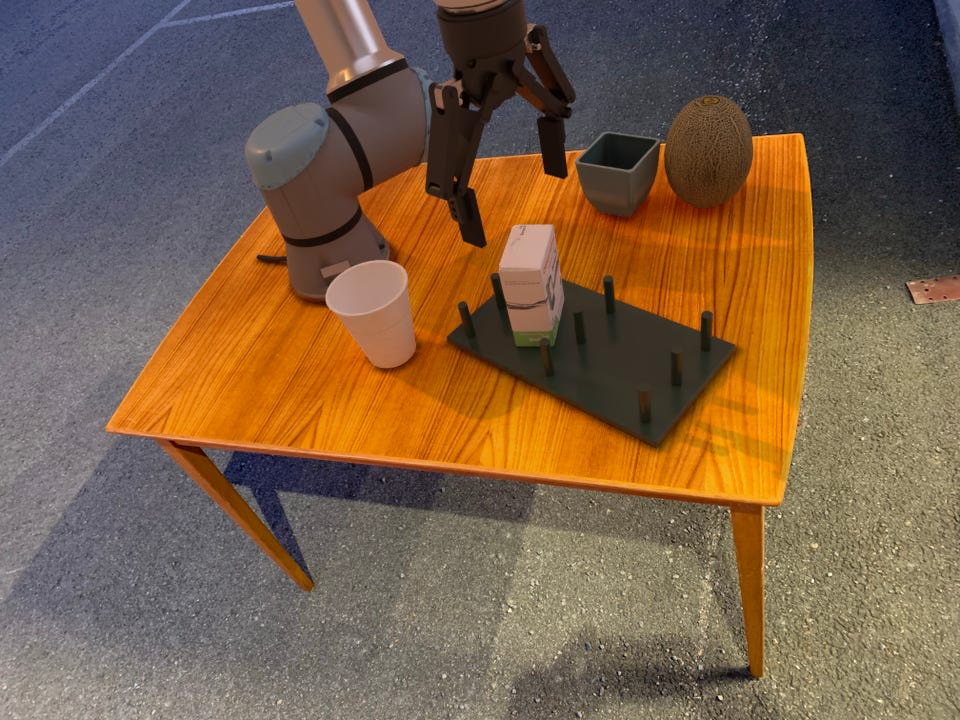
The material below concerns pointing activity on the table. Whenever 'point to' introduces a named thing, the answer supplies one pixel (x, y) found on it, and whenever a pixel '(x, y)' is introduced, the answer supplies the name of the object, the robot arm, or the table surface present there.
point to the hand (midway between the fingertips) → (517, 207)
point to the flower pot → (618, 172)
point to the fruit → (708, 151)
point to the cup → (375, 310)
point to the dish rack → (603, 357)
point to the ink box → (532, 283)
